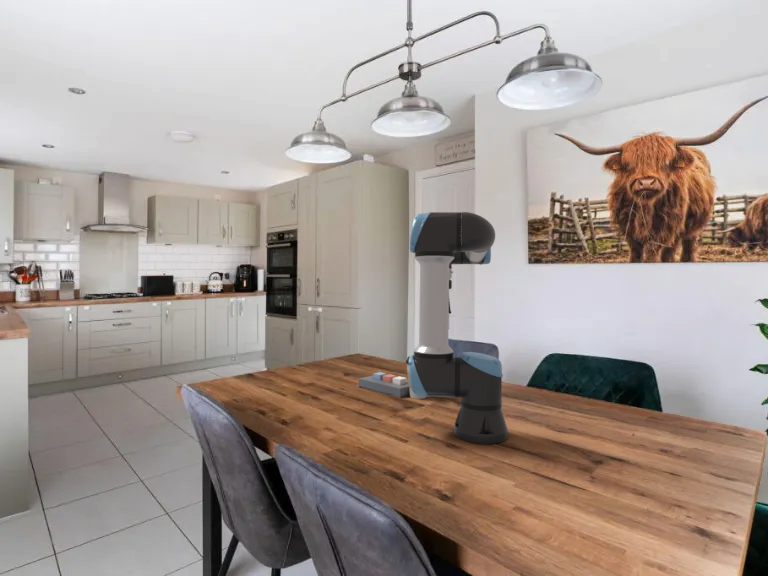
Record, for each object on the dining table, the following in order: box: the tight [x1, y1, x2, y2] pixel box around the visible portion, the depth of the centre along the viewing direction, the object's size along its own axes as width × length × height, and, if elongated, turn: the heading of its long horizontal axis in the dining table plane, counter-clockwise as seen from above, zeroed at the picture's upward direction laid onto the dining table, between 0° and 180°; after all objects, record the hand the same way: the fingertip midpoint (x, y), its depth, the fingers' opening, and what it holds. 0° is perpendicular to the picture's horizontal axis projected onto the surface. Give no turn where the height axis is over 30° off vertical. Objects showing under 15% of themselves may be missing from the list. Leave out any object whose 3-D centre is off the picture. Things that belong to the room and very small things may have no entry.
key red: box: [383, 373, 398, 383], centre depth 176 cm, size 4×4×2 cm
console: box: [358, 375, 410, 399], centre depth 176 cm, size 13×23×4 cm, turn 46°
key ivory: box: [393, 376, 408, 385], centre depth 172 cm, size 4×4×2 cm
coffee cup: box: [405, 355, 427, 400], centre depth 165 cm, size 10×10×15 cm
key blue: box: [372, 371, 388, 380], centre depth 179 cm, size 4×4×2 cm
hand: (442, 331), depth 177 cm, fingers open, 13 cm apart
